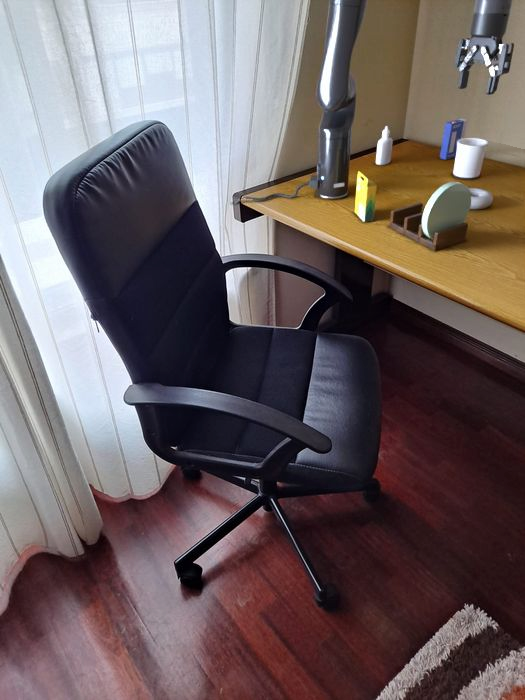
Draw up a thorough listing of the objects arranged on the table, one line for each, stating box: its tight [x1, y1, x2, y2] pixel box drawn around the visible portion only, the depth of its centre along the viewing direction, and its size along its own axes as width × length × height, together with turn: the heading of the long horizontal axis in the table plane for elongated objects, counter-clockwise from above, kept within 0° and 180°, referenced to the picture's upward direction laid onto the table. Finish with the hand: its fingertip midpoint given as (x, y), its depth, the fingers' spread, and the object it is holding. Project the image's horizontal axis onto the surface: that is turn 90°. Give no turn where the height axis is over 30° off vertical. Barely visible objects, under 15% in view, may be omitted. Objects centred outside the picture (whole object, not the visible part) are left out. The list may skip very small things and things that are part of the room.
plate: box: [422, 181, 471, 241], centre depth 119 cm, size 2×14×14 cm, turn 119°
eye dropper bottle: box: [375, 125, 394, 166], centre depth 168 cm, size 4×6×12 cm
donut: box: [468, 187, 494, 210], centre depth 140 cm, size 10×4×10 cm
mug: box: [452, 137, 489, 181], centre depth 156 cm, size 11×9×10 cm
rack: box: [389, 201, 469, 252], centre depth 126 cm, size 17×10×4 cm, turn 29°
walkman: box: [439, 118, 468, 160], centre depth 170 cm, size 8×3×12 cm, turn 122°
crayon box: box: [354, 170, 378, 223], centre depth 134 cm, size 7×3×12 cm, turn 12°
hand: (475, 91), depth 119 cm, fingers open, 8 cm apart
